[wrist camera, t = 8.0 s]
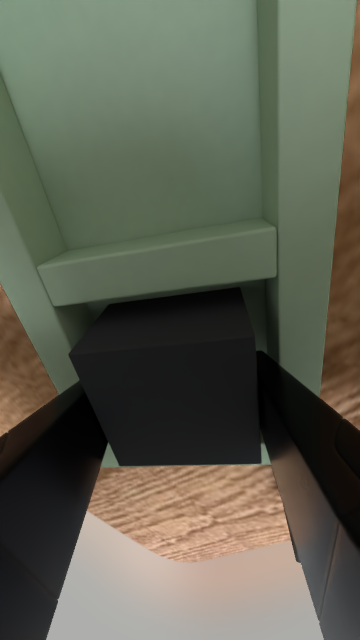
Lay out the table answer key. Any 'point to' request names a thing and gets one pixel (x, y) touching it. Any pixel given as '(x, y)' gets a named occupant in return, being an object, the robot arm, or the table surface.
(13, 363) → the table surface
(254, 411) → the pad
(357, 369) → the table surface
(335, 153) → the green divided tray
